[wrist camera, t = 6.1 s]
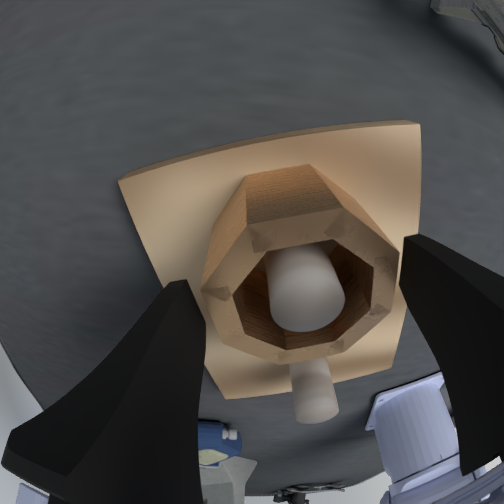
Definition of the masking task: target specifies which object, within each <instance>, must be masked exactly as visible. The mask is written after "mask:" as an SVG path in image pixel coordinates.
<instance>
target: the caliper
mask: <svg viewBox="0 0 504 504" xmlns="http://www.w3.org/2000/svg"><path fill="white" fill-rule="evenodd" d="M430 8H431V9H433V10H434V11H435V12H437V13H438V14H441V15H446V16H450V17H455V18H459V19H462V20H466V21H470V22H473V23H476V24H480V25H483V26H486V27H488V28H489V29H490V30H491V32H492V33H493V34H494V39H495V42H496V45H497V47H498V49H499V50H500V52H501V53H502V54H504V0H432V1H431V5H430Z"/></svg>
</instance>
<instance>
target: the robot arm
mask: <svg viewBox="0 0 504 504" xmlns="http://www.w3.org/2000/svg"><path fill="white" fill-rule="evenodd" d="M399 287H400V289H401V292H402V294H403V297H404V299H405V301H406V304H407V306H408V308H409V310H410V312H411V314H412V316H413V317H414V319H415V321H416V323H417V325H418V326H419V328H420V330H421V332H422V334H423V335H424V337H425V339H426V341H427V343H428V345H429V347H430V348H431V350H432V352H433V354H434V356H435V358H436V360H437V363H438V365H439V367H440V370H441V372H439V373H436V374H434V375H431V376H429V377H426V378H423V379H421V380H418V381H415V382H412V383H410V384H407V385H404V386H401V387H398V388H395V389H392V390H388V391H385V392H382V393H379V394H378V395H377V396H376V398H375V401H374V404H373V407H372V410H371V413H370V416H369V419H368V421H367V424H366V427H365V429H366V430H367V431H368V430H372V429H374V431H375V435H376V439H377V442H378V446H379V450H380V455H381V459H382V463H383V467H384V470H385V471H386V473H387V474H388V475H389V476H390V477H391V479H392V483H393V484H392V485H390V486H389V491H386V492H385V494H384V496H383V497H382V499H381V501H380V504H504V277H503V276H501V275H499V274H497V273H495V272H493V271H491V270H489V269H487V268H485V267H483V266H481V265H479V264H477V263H476V262H474V261H472V260H470V259H468V258H466V257H465V256H463V255H461V254H459V253H457V252H455V251H454V250H452V249H450V248H448V247H446V246H444V245H442V244H440V243H439V242H437V241H435V240H433V239H430V238H428V237H426V236H424V235H421V234H414V235H410V236H405V237H404V241H403V252H402V261H401V270H400V278H399ZM205 353H206V321H205V319H204V317H203V315H202V313H201V310H200V308H199V306H198V304H197V301H196V299H195V297H194V295H193V292H192V290H191V288H190V285H189V283H188V281H187V279H183V280H177V281H172V282H169V283H168V284H167V285H166V286H165V288H164V289H163V290H162V291H161V292H160V294H159V295H158V296H157V297H156V298H155V300H154V301H153V302H152V303H151V305H150V306H149V307H148V309H147V310H146V311H145V312H144V313H143V315H142V316H141V317H140V318H139V320H138V321H137V322H136V324H135V325H134V326H133V327H132V328H131V329H130V331H129V332H128V333H127V334H126V335H125V336H124V338H123V339H122V340H121V341H120V342H119V344H118V345H117V346H116V347H115V348H114V349H113V350H112V352H111V353H110V354H109V355H108V356H107V357H106V358H105V359H104V360H103V361H102V362H101V363H100V364H99V365H98V366H97V367H96V368H95V369H94V370H93V371H92V372H91V373H90V374H89V375H88V376H87V377H86V378H84V379H83V380H82V381H81V382H80V383H79V384H78V385H76V386H75V387H74V388H73V389H72V390H71V391H70V392H68V393H67V394H66V395H65V396H64V397H62V398H61V399H60V400H58V401H57V402H56V403H54V404H53V405H52V406H50V407H49V408H47V409H46V410H44V411H43V412H42V413H40V414H38V415H37V416H35V417H34V418H32V419H30V420H29V421H27V422H25V423H23V424H22V425H20V426H18V427H17V428H15V429H13V430H12V431H11V433H10V435H9V438H8V441H7V444H6V447H5V450H4V454H3V457H2V461H1V464H2V466H3V467H4V468H5V469H7V470H8V471H10V472H11V473H13V474H15V475H16V476H18V477H20V478H21V479H23V480H25V481H26V482H28V483H30V484H32V485H34V486H35V487H37V488H39V489H41V490H43V491H45V492H47V493H49V494H50V496H47V495H45V494H43V493H41V492H39V491H38V490H35V489H34V488H31V487H29V486H27V485H25V484H23V483H20V485H19V490H18V495H17V500H16V504H204V501H203V495H202V488H201V478H200V468H199V450H198V409H199V400H200V392H201V384H202V377H203V369H204V361H205ZM444 381H445V385H446V388H447V391H448V394H449V398H450V402H451V406H452V410H453V414H454V419H455V425H456V430H457V434H456V431H455V428H454V425H453V423H452V420H451V418H450V415H449V413H448V410H447V408H446V405H445V403H444V400H443V398H442V396H441V393H440V391H439V389H440V387H441V386H442V384H443V382H444ZM498 456H500V458H501V461H502V463H500V464H499V465H497V466H496V467H495V468H493V469H491V470H490V471H488V472H487V473H486V470H485V467H484V465H486V464H487V463H489V462H490V461H492V460H494V459H495V458H497V457H498Z"/></svg>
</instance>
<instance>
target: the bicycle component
mask: <svg viewBox="0 0 504 504" xmlns="http://www.w3.org/2000/svg"><path fill="white" fill-rule="evenodd" d="M342 486H345V485H338V484H328V485H327V486H303V485H297V486H292V487H291V488H287V490H289V491H294V492H295V493H293V494H288V491H285V492H284V493H282V490H278V492H276V493H274V500H273V501H274V502H278V503H280V502H284V501H288V503H289V504H309V500H305V495H306V494H307V492H325V491H342V492H344V491H345V490H344V489H341V488H344V487H342ZM321 487H326V488H328V489H322V490H304V489H309V488H318V489H321Z"/></svg>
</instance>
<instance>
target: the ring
mask: <svg viewBox="0 0 504 504" xmlns="http://www.w3.org/2000/svg"><path fill="white" fill-rule="evenodd" d="M330 239H334V240H335V241H337V242H338V245H337V246H336V247H335V248H334V249H333V250H332V251H331V252H330V254H329V255H328V257H329V259H330V261H331V264H332V266H333V268H334V271H335V273H336V275H337V277H338V280H339V282H340V285H341V287H342V289H343V292H344V295H345V302H344V306H343V309H342V311H341V312H340V314H339V315H338V316H337V317H336V318H335V319H334V320H333V321H332V322H331V323H329V324H328V325H326V326H324V327H322V328H319V329H316V330H313V331H308V332H295V331H290V330H287V329H284V328H282V327H281V326H279V325H278V324H277V323H276V322H275V321H274V319H273V318H272V315H271V310H270V301H269V292H268V283H267V274H266V273H265V272H263V271H261V270H259V269H257V268H255V266H256V264H257V263H258V262H259V261H260V259H261V258H262V257H263V256H264V254H265V253H266V252H267V251H271V250H276V249H281V248H287V247H292V246H298V245H303V244H308V243H314V242H319V241H325V240H330ZM399 255H400V252H399V251H398V250H397V248H396V247H395V246H394V245H393V243H392V242H391V241H390V240H389V238H388V237H387V236H386V235H385V233H384V232H383V231H382V230H381V229H380V227H379V226H378V225H377V224H376V223H375V221H374V220H373V219H372V218H371V217H370V216H369V214H368V213H367V212H366V211H365V210H364V209H363V208H362V206H361V205H360V204H359V203H358V202H357V201H356V200H355V199H354V198H353V197H352V196H351V195H350V194H348V193H347V192H346V191H345V190H343V189H342V188H341V187H339V186H338V185H337V184H336V183H334V182H333V181H332V180H330V179H329V178H328V177H326V176H325V175H324V174H322V173H321V172H320V171H318V170H317V169H316V168H314V167H313V166H311V165H310V164H305V165H299V166H293V167H287V168H281V169H276V170H270V171H265V172H260V173H254V174H249V175H246V176H245V177H244V179H243V180H242V182H241V183H240V185H239V186H238V187H237V189H236V190H235V192H234V193H233V195H232V196H231V198H230V199H229V201H228V202H227V204H226V205H225V207H224V208H223V210H222V211H221V213H220V214H219V216H218V217H217V219H216V220H215V222H214V223H213V228H212V233H211V238H210V242H209V247H208V253H207V258H206V263H205V268H204V273H203V279H202V284H201V289H200V291H201V293H202V296H203V298H204V301H205V303H206V306H207V308H208V310H209V313H210V315H211V318H212V320H213V322H214V325H215V327H216V329H217V332H218V334H219V336H220V339H221V341H222V343H223V344H224V345H227V346H229V347H232V348H235V349H237V350H240V351H242V352H245V353H248V354H250V355H253V356H256V357H259V358H261V359H264V360H267V361H270V362H273V363H276V364H279V365H283V364H289V363H295V362H300V361H306V360H311V359H316V358H321V357H326V356H331V355H335V354H340V353H343V352H345V351H346V350H348V349H349V348H350V347H351V346H352V345H354V344H355V343H356V342H357V341H358V340H360V339H361V338H362V337H363V336H364V335H366V334H367V333H368V332H369V331H370V330H371V329H372V328H374V327H375V326H376V325H377V324H378V323H379V322H380V321H381V320H383V319H384V318H385V317H386V316H387V315H388V314H389V313H390V312H391V311H392V306H393V300H394V293H395V287H396V280H397V272H398V264H399Z"/></svg>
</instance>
